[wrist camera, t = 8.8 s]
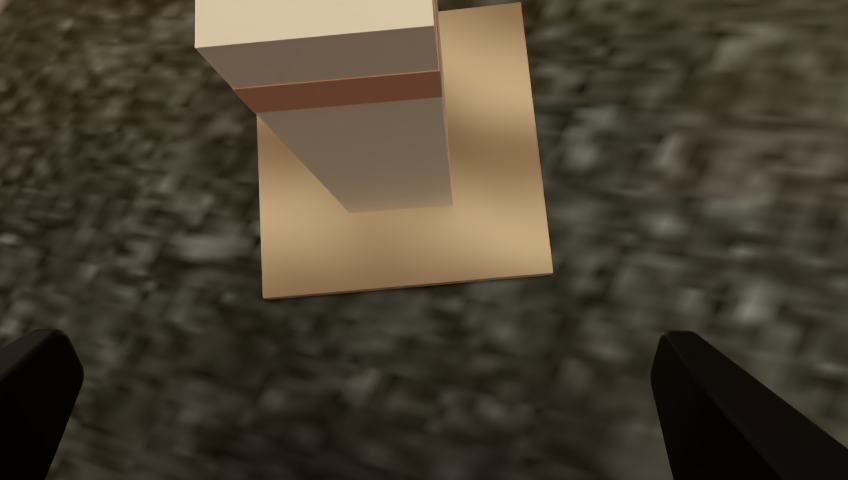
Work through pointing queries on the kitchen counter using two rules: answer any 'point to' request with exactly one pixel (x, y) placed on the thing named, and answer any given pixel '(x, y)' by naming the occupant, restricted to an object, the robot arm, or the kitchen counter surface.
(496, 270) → the coaster
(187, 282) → the kitchen counter surface
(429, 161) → the beige upright block
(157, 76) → the kitchen counter surface
